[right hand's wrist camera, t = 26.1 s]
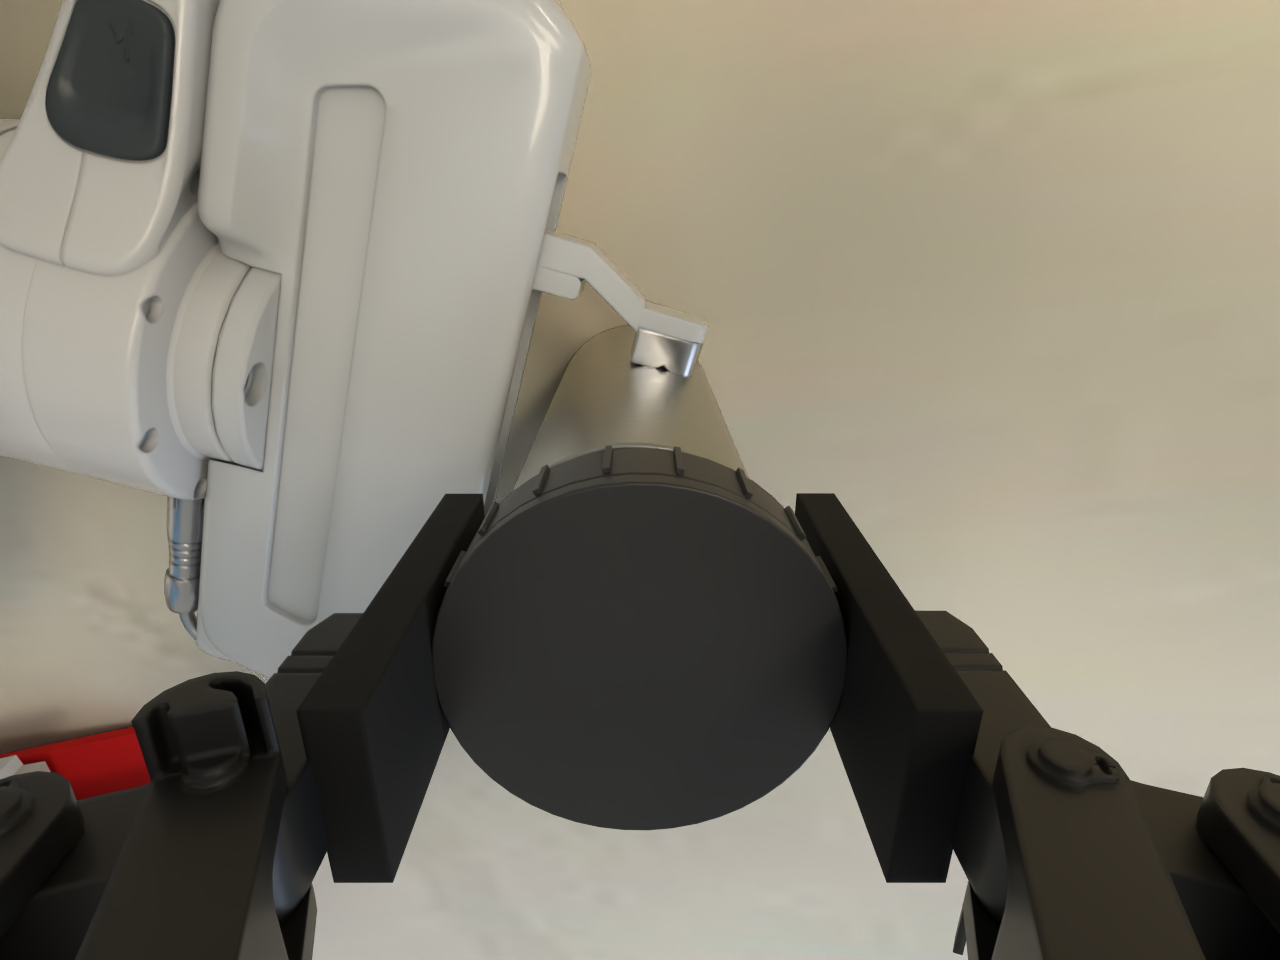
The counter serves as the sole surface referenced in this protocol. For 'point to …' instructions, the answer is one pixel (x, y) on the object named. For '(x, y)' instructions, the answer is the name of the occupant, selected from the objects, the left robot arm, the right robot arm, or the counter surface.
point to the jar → (628, 409)
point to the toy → (86, 762)
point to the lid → (639, 641)
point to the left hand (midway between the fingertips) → (663, 460)
